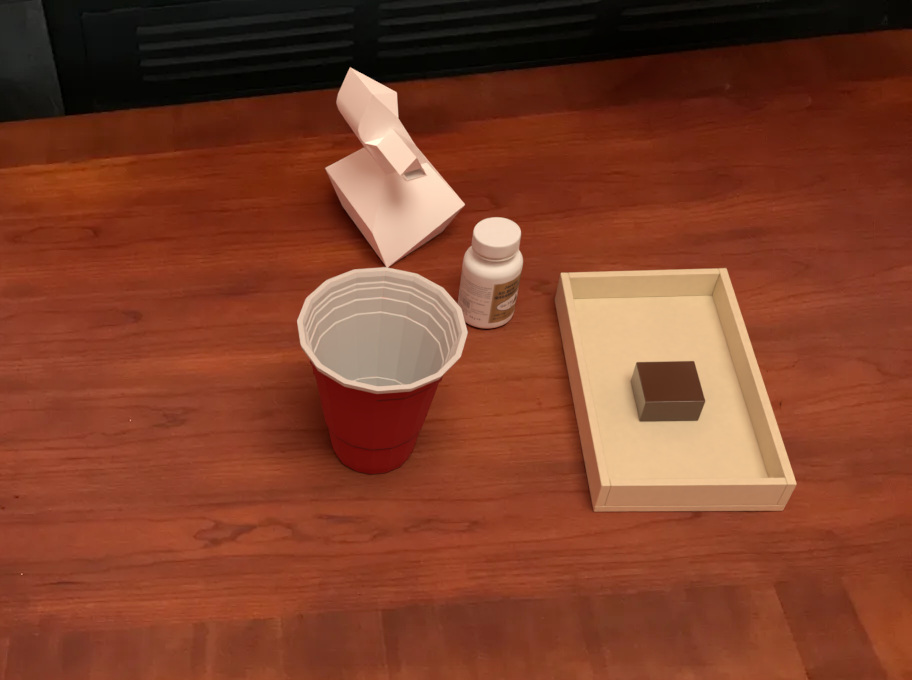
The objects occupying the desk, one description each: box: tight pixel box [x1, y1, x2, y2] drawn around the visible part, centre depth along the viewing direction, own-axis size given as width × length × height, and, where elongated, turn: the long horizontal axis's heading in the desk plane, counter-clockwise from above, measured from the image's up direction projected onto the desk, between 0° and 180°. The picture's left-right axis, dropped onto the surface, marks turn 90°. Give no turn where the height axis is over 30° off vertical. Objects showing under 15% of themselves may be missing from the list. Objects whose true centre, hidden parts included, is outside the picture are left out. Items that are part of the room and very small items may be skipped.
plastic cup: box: [296, 266, 469, 475], centre depth 78 cm, size 11×11×12 cm
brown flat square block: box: [631, 361, 705, 422], centre depth 81 cm, size 4×4×2 cm
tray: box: [554, 267, 797, 513], centre depth 82 cm, size 12×21×3 cm, turn 176°
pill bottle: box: [457, 216, 524, 329], centre depth 87 cm, size 4×4×8 cm
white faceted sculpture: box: [324, 67, 466, 268], centre depth 92 cm, size 8×14×14 cm, turn 19°
